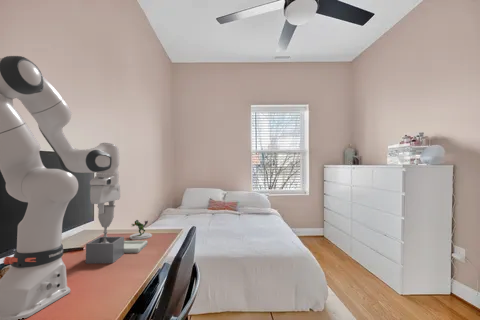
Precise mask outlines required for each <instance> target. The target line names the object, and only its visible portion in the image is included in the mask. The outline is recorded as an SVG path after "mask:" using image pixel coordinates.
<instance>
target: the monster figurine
mask: <svg viewBox="0 0 480 320" xmlns="http://www.w3.org/2000/svg"><path fill="white" fill-rule="evenodd" d="M148 222H149V220H144V223H141V221H140V220H138V219H135V221H134V223H131V225H130V226H131V227H135V226H136V227H137V229H138V232H135V233H133V234H131V235H129V239H131V240H132V241H142V240H147V239H150V238H152V236H153V234H152V233H150V232H146V230H145V229H144V228H145V227H146V225H147V224H148ZM141 231H143V232H141Z"/></svg>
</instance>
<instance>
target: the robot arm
mask: <svg viewBox="0 0 480 320" xmlns="http://www.w3.org/2000/svg"><path fill="white" fill-rule="evenodd" d="M14 99H17V100H18V101H20V102H21V104H22V106H24V108H25V109H26V110H27V111H28V112H29V114H30V115H31V116H32V117H33V119H34V120H35V122H36V123H37V125H38V126H37V127H38V129H39V132H40V133H41V134H42V136H43V138H44V139H45V140H46V142H47V143H48V144H49V146H50V147H51V149H52V150H53V152H54V153H55V154H56V156H57V158H58V161H59V164H60V166H61V168H62V169H60V168H47V167H45V165H44V163H43V162H42V161H43V160H42V158H41V154H40V150H41V145H40V143H39V141H38V140H37V137H35V135H34V133H33V131H32V130H31V129H30V127H29V126H28V124H27V123H26V121H25V120H24V118H23V117H22V115H21V114H20V113H19V111H18V110H17V108H16V107H15V106H14V101H13V100H14ZM71 118H72V110H71V108H70V107H69V104H68V103H67V102H66V101H65V99H64V97H63V96H62V95H61V94H60V92H59V91H58V90H57V89H56V87H55V86H54V85H53V84H52V83H51V82H50V81H49V80H48V79H47V78H46V77H45V76H44V75H43V74H42V72H41V70H40V68H39V67H38V66H37V64H35V63H34V62H33V61H31V60H30V59H28V58H26V57H25V56H23V55H22V56H20V55H7V56H4V57H1V58H0V173H1V175H2V177H3V179H4V182H5V191H6V192H7V193H8V195H9V196H10V197H12V198H14V199H15V200H18V201H20V202H23V203H27V206H26V210H25V213H24V216H23V218H22V220H21V221H20V222H19V223H18V224H17V233H16V234H17V236H16V238H17V239H16V250H15V251H14V255H13V256H5V257H4V259H2V260H3V261H2V263H3V264H4V265H10V268H9V269H8V270H7V271H6V272H5V273H4V274H3V275H2V277H1V278H0V320H18V319H20V320H23V319H22V318H24V319H27V318H29V317H31V316H33V315H34V314H36V313H37V312H39V311H41V310H43V309H44V308H46V307H48V306H49V305H51V304H53V303H54V302H56V301H58V300H60V299H61V298H64V297H65V296H66V295H68V294H69V293H71V288H70V287H69V286H68V279H67V267H66V264H65V263H64V261H63V258H62V257H63V256H64V255H63V254H64V245H63V244H62V236H63V221H64V218H65V217H64V216H65V214H66V210H67V207H68V205H69V203H70V202H71V201H72V199H74V197H75V196H76V195H77V193H78V192H79V191H78V190H79V181H78V178H77V176H76V175H75V174H81V173H82V174H89V173H90V174H92V173H96V174H95V175H96V176H94V177H93V178H92V179H90V180H89V185H90V189H89V197H90V198H89V199H90V203H91V204H92V205H97V206H98V207H97V209H98V208H99V209H98V211H99V214H103V213H105V209H104V205H105V203H106V204H107V203H108V205H115V201H118V200H120V199H121V185H120V184H119V183H120V182H119V178H120V172H119V166H120V151H119V147H118V145H116V144H113V143H108V142H100V143H99V144H98V145H97V146H94V147H92V148H89V149H88V148H87V149H86V148H85V149H79V148H75V147H74V146H73V145H72V144H71V142H69V140H68V138H67V136H66V135H65V133H64V132H63V128H65V127H66V126H67V125H68V124H69V123H70V120H71Z"/></svg>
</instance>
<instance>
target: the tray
mask: <svg viewBox="0 0 480 320" xmlns="http://www.w3.org/2000/svg"><path fill="white" fill-rule="evenodd" d="M147 245H148V240H124V254H135V253H136V254H138V253H140V252H141V251H142V250H144V249H145V247H147Z"/></svg>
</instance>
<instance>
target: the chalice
mask: <svg viewBox="0 0 480 320" xmlns="http://www.w3.org/2000/svg"><path fill="white" fill-rule="evenodd" d="M115 207H116V205H115V204H114V205H109V204H104V209H105V213H103V214H99V208H98V205H97V210H98V211H97V212H98V213H97V214H98V216H97V218H98V221H99V224H100V226H101V227H102V228H103V236H102V237H104V241H103V242H102V243H109V242H107V241H106V238H107V237H108V235H107V234H108V230H107V229H108V228H109V227H110V226H111V224H112V222H113V220H114V216H115Z"/></svg>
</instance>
